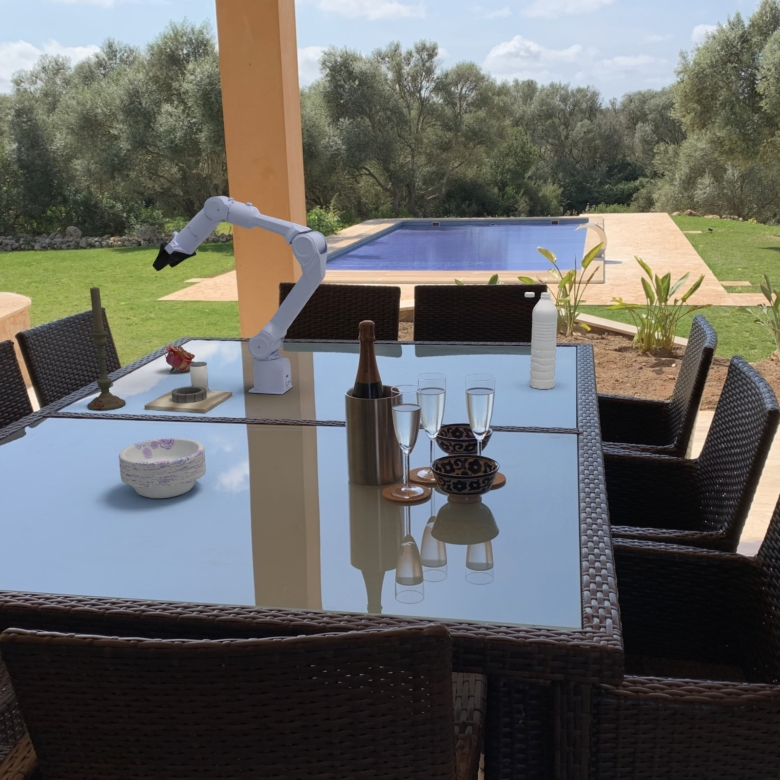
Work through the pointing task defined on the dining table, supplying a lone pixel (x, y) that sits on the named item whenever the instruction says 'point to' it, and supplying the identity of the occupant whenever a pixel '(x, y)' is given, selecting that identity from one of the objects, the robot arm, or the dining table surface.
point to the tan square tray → (189, 400)
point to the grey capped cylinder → (199, 374)
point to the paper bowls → (162, 466)
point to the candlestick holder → (101, 360)
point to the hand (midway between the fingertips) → (162, 266)
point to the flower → (178, 358)
